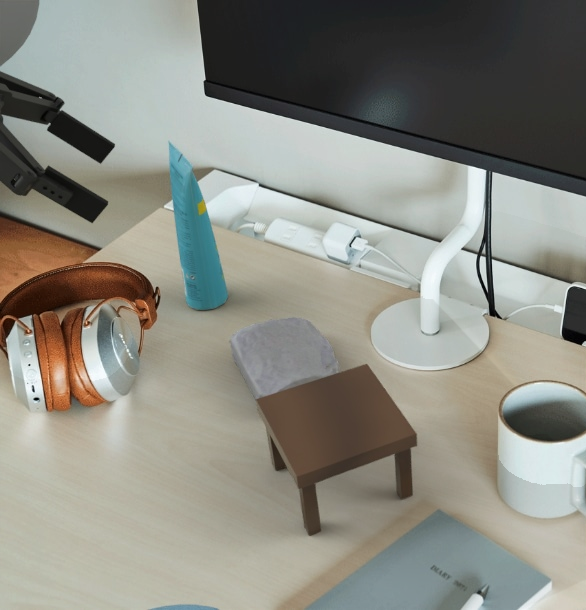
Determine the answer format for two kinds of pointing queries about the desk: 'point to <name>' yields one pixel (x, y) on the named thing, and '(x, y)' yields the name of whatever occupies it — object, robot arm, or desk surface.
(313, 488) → the stool
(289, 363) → the stone block
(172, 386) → the desk surface
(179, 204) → the tube
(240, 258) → the desk surface
